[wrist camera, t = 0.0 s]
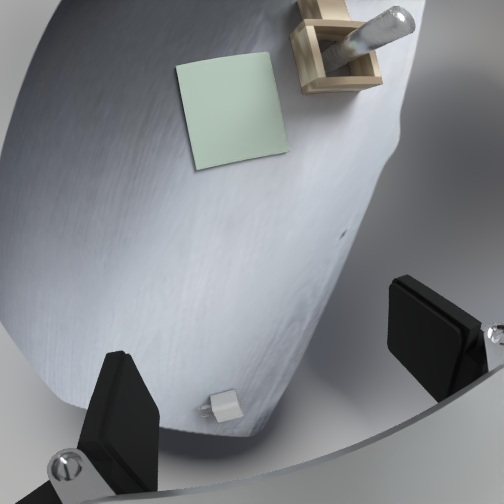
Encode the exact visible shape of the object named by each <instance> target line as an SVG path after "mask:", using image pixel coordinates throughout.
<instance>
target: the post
mask: <svg viewBox="0 0 504 504" xmlns="http://www.w3.org/2000/svg"><path fill="white" fill-rule="evenodd" d="M414 30H415V22H414V19H413V17H412V16H411V14H410V13H409V12H408V11H407V10H405V9H404V8H402V7H399V6H393V7H391V8H390V9H388V10H386V11H385V12H383V13H381V14H380V15H378V16H376V17H375V18H373V19H371V20H370V21H368V22H367V23H365V24H364V25H362V26H360V27H359V28H357V29H356V30H354V31H353V32H351V33H350V34H348V35H347V36H345V37H344V38H342V39H341V40H339V41H338V42H336V43H335V44H333V45H332V46H330V47H329V48H328V49H326V50H325V51H323V52H322V53H321V58H322V62H323V66H324V70H325V72H331V71H333V70H335V69H337V68H339V67H341V66H343V65H345V64H347V63H349V62H351V61H353V60H355V59H357V58H359V57H361V56H363V55H365V54H367V53H369V52H371V51H373V50H375V49H377V48H379V47H381V46H384V45H386V44H388V43H390V42H392V41H395V40H397V39H399V38H402V37H404V36H406V35H408V34H411V33H413V32H414Z"/></svg>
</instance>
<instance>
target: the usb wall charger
mask: <svg viewBox="0 0 504 504" xmlns="http://www.w3.org/2000/svg"><path fill="white" fill-rule="evenodd" d="M210 398H211V404H209V405H205V406H201V407H198V410H203V409H208V408H212V411H213V412H210V413H206V414H203V415H202V418H204V417H209V416H213V415H215V417H216V419H217V421H218V423H220V422H224V421H228V420H232V419H236V418H240V417H244V415H243V411H242V406H241V403H240V400H239V397H238V395H237V392H236V390H235V389H233V390H230V391H226V392H222V393H218V394H214V395H210ZM199 408H201V409H199ZM204 415H206V416H204Z"/></svg>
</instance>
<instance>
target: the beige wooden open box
mask: <svg viewBox="0 0 504 504" xmlns="http://www.w3.org/2000/svg"><path fill="white" fill-rule="evenodd" d="M297 3H298V7H299V10H300V14H301V17H302V22H301V23H300V24H299V25H298V26H297V27H296V28H295V29H294V30H293V32H292V33H291V34H290V35H289V36H290V40H291V44H292V49H293V53H294V57H295V61H296V66H297V70H298V75H299V79H300V84H301V88H302V93H303V94H312V93H325V92H343V91H361V90H365V89H368V88H371V87H374V86H378V85H381V84H383V82H382V77H381V73H380V68H379V64H378V60H377V56H376V52H375V50H373V51H371V52H369V53H367V54H365V55H363V56H361V57H359V58H357V59H355V60H353V61H351V62H349V63H348V64H349V69H350V73H351V76H349V77H326V75H325V70H324V66H323V62H322V58H321V53H320V49H319V45H318V41H339V40H341V39H342V38H344V37H345V36H347V35H348V34H350V33H351V32H353V31H354V30H356V29H357V28H359V27H360V26H362V25H364V24H365V23H367V22H359V21H351V19H350V16H349V13H348V10H347V6H346V3H345V0H297Z"/></svg>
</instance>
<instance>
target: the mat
mask: <svg viewBox="0 0 504 504" xmlns="http://www.w3.org/2000/svg"><path fill="white" fill-rule="evenodd" d="M176 69H177V75H178V80H179V85H180V91H181V96H182V101H183V106H184V111H185V116H186V121H187V126H188V131H189V136H190V141H191V146H192V151H193V155H194V160H195V165H196V169H197V170H200V169H204V168H209V167H213V166H218V165H222V164H227V163H232V162H237V161H241V160H246V159H252V158H257V157H262V156H268V155H273V154H279V153H285V152H289V148H288V143H287V137H286V132H285V127H284V122H283V116H282V111H281V106H280V102H279V97H278V92H277V87H276V82H275V78H274V73H273V68H272V64H271V60H270V55H269V52H260V53H251V54H242V55H235V56H228V57H221V58H215V59H209V60H203V61H198V62H193V63H188V64H183V65H178V66H176Z"/></svg>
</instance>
